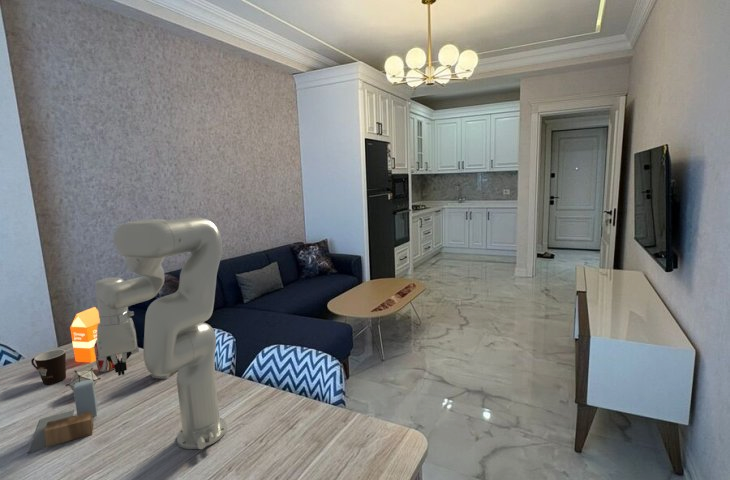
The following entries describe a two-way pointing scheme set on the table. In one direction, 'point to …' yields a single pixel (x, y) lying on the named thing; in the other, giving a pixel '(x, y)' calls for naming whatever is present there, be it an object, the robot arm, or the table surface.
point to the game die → (83, 377)
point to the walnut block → (68, 428)
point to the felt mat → (39, 435)
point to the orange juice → (85, 335)
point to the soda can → (103, 361)
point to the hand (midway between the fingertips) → (121, 373)
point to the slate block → (85, 397)
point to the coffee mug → (51, 366)
